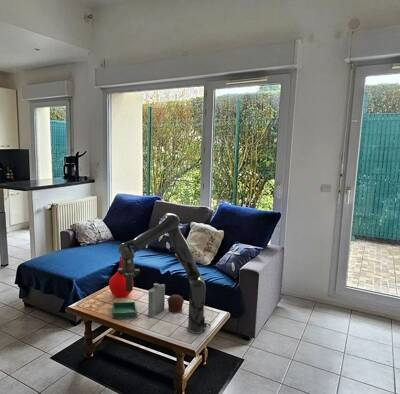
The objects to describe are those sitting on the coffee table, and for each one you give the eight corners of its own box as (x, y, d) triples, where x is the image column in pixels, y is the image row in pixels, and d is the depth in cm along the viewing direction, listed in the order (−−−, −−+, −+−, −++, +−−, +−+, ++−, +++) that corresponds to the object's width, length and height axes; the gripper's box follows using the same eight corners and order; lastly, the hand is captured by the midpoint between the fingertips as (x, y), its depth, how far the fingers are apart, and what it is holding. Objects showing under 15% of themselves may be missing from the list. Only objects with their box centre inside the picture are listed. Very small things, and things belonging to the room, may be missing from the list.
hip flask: (150, 317, 222) (151, 288, 220) (146, 315, 225) (146, 286, 222) (165, 309, 235) (166, 281, 232) (160, 307, 237) (161, 279, 235)
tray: (134, 306, 238) (134, 301, 237) (136, 317, 223) (136, 312, 222) (112, 307, 236) (112, 302, 235) (113, 318, 221) (113, 313, 220)
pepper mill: (132, 288, 225) (132, 270, 224) (133, 291, 221) (133, 272, 219) (125, 288, 225) (125, 270, 223) (125, 291, 220) (125, 273, 218)
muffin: (170, 314, 228) (170, 300, 226) (164, 307, 238) (164, 293, 237) (186, 312, 231) (187, 298, 230) (180, 304, 242) (180, 291, 240)
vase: (123, 302, 243) (123, 262, 239) (103, 296, 253) (103, 257, 249) (138, 294, 258) (138, 256, 254) (119, 288, 268) (119, 251, 264)
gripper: (139, 259, 212) (140, 271, 225) (116, 258, 212) (119, 270, 226) (139, 270, 207) (140, 282, 221) (115, 270, 208) (118, 281, 221)
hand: (129, 276), depth 223 cm, fingers closed on pepper mill, 5 cm apart
